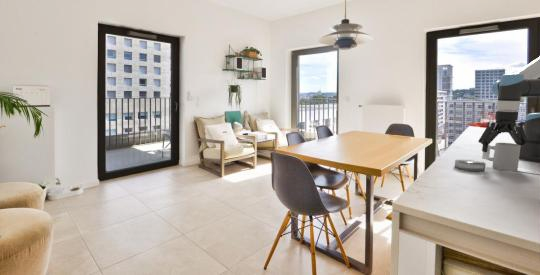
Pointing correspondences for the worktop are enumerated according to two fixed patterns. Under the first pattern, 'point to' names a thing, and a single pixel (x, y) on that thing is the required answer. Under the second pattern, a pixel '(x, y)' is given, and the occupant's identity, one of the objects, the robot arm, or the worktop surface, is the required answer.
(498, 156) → the mug
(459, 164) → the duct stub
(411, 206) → the worktop surface
